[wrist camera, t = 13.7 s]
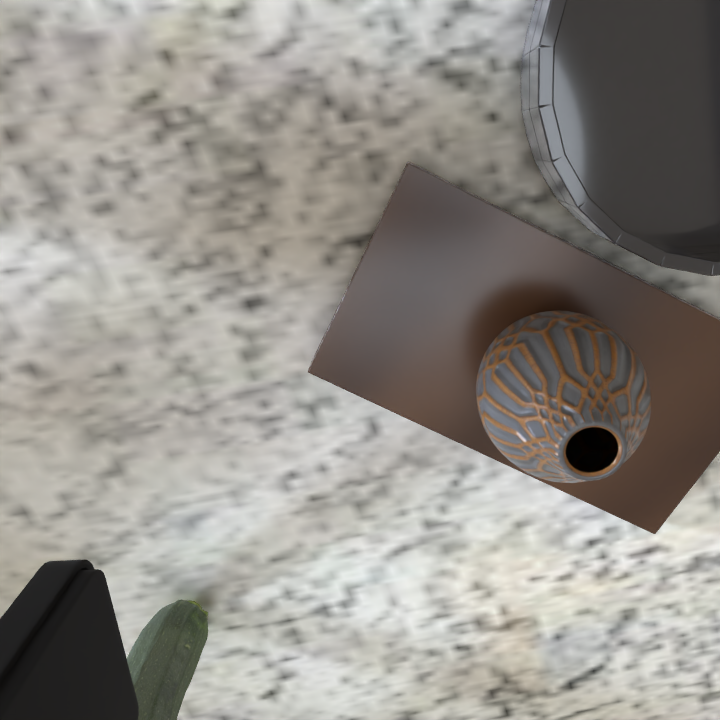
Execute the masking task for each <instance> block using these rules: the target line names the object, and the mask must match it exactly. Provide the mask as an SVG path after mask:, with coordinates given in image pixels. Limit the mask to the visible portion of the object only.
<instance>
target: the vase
mask: <svg viewBox="0 0 720 720" xmlns="http://www.w3.org/2000/svg"><path fill="white" fill-rule="evenodd" d="M476 398H477V405H478V410H479V415H480V418H481V421H482V423H483V426H484V428H485V430H486V432H487V434H488V436H489V438H490V439H491V441H492V442H493V444H494V445H495V446H496V447H497V449H498V450H499V451H500V452H501V453H502V454H503V455H504V456H505V457H506V458H507V459H508V460H509V461H511V462H512V463H513V464H514V465H516V466H517V467H519V468H520V469H522V470H524V471H525V472H527V473H529V474H531V475H533V476H536V477H539V478H541V479H545V480H548V481H553V482H561V483H577V482H584V481H594V480H600V479H603V478H606V477H608V476H610V475H611V474H613V473H614V472H616V471H617V470H618V469H619V468H620V467H621V465H622V464H623V463H624V462H625V461H627V460H628V459H629V458H630V457H631V455H632V454H633V453H634V452H635V450H636V449H637V448H638V446H639V445H640V443H641V441H642V439H643V437H644V435H645V433H646V430H647V427H648V424H649V419H650V413H651V394H650V387H649V382H648V378H647V375H646V372H645V369H644V367H643V365H642V363H641V361H640V359H639V357H638V356H637V354H636V352H635V351H634V350H633V348H632V347H631V346H630V345H629V344H628V343H627V341H626V340H625V339H624V338H623V337H622V336H620V335H619V334H618V333H617V332H616V331H614V330H613V329H612V328H610V327H609V326H607V325H606V324H604V323H602V322H601V321H599V320H597V319H595V318H592V317H590V316H587V315H584V314H580V313H576V312H570V311H546V312H540V313H536V314H532V315H529V316H527V317H524V318H522V319H520V320H518V321H516V322H514V323H513V324H511V325H510V326H508V327H507V328H506V329H504V330H503V331H502V332H501V333H500V334H499V335H498V336H497V337H496V338H495V340H494V341H493V342H492V343H491V345H490V346H489V348H488V349H487V351H486V353H485V355H484V357H483V359H482V362H481V364H480V368H479V371H478V375H477V382H476Z"/></svg>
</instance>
